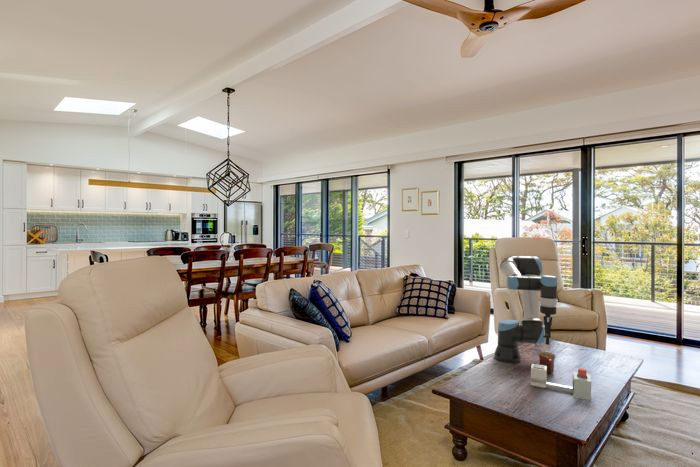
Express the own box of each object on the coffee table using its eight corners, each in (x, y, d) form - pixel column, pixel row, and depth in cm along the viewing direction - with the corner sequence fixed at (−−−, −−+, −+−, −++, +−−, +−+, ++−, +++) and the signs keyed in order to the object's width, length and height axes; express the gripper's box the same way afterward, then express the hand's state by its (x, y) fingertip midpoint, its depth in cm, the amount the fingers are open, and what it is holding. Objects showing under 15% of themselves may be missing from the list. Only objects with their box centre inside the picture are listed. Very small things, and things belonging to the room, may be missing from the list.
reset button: (578, 376, 188) (578, 370, 188) (577, 373, 191) (577, 367, 191) (586, 377, 186) (586, 371, 186) (586, 375, 189) (586, 369, 189)
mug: (535, 369, 221) (536, 351, 220) (552, 370, 219) (552, 352, 218) (541, 377, 209) (542, 358, 208) (559, 379, 207) (559, 360, 207)
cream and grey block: (530, 384, 196) (531, 367, 196) (531, 379, 203) (531, 362, 202) (545, 387, 193) (546, 369, 193) (546, 382, 199) (546, 365, 199)
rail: (530, 385, 198) (530, 380, 198) (531, 383, 201) (531, 379, 200) (575, 394, 189) (575, 389, 189) (575, 392, 191) (575, 387, 191)
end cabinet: (572, 396, 186) (573, 378, 186) (572, 388, 195) (572, 371, 195) (590, 400, 183) (591, 381, 182) (589, 392, 192) (589, 374, 191)
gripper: (557, 311, 186) (556, 355, 187) (555, 302, 208) (554, 341, 209) (539, 309, 189) (538, 352, 190) (540, 300, 212) (539, 338, 212)
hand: (547, 346), depth 199 cm, fingers open, 13 cm apart
